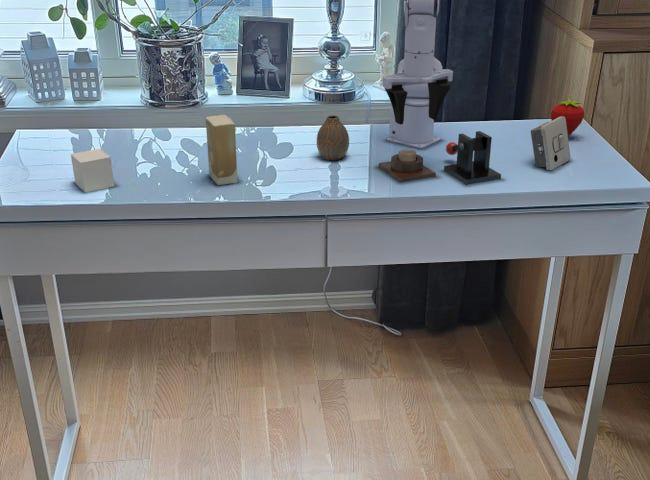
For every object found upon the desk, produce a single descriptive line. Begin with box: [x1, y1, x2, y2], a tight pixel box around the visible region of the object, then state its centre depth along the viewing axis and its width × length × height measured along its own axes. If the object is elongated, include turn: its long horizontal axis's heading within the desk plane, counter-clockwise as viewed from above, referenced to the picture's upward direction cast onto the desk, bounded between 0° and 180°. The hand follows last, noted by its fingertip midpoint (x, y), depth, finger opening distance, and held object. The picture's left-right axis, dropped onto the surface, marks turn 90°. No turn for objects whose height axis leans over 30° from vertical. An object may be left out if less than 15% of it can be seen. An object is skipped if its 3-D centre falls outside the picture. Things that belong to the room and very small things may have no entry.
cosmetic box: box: [205, 114, 239, 186], centre depth 178 cm, size 6×4×12 cm
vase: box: [316, 114, 350, 161], centre depth 190 cm, size 7×7×9 cm
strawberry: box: [549, 92, 585, 138], centre depth 201 cm, size 6×8×10 cm
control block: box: [378, 153, 437, 183], centre depth 184 cm, size 10×8×3 cm
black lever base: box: [443, 130, 502, 186], centre depth 181 cm, size 9×8×8 cm
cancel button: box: [397, 148, 417, 162], centre depth 183 cm, size 4×4×2 cm
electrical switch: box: [530, 117, 571, 171], centre depth 187 cm, size 9×5×9 cm, turn 141°
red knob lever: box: [445, 137, 483, 156], centre depth 184 cm, size 12×3×3 cm, turn 24°
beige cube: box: [70, 148, 115, 193], centre depth 177 cm, size 6×6×6 cm
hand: (416, 120), depth 180 cm, fingers open, 7 cm apart
